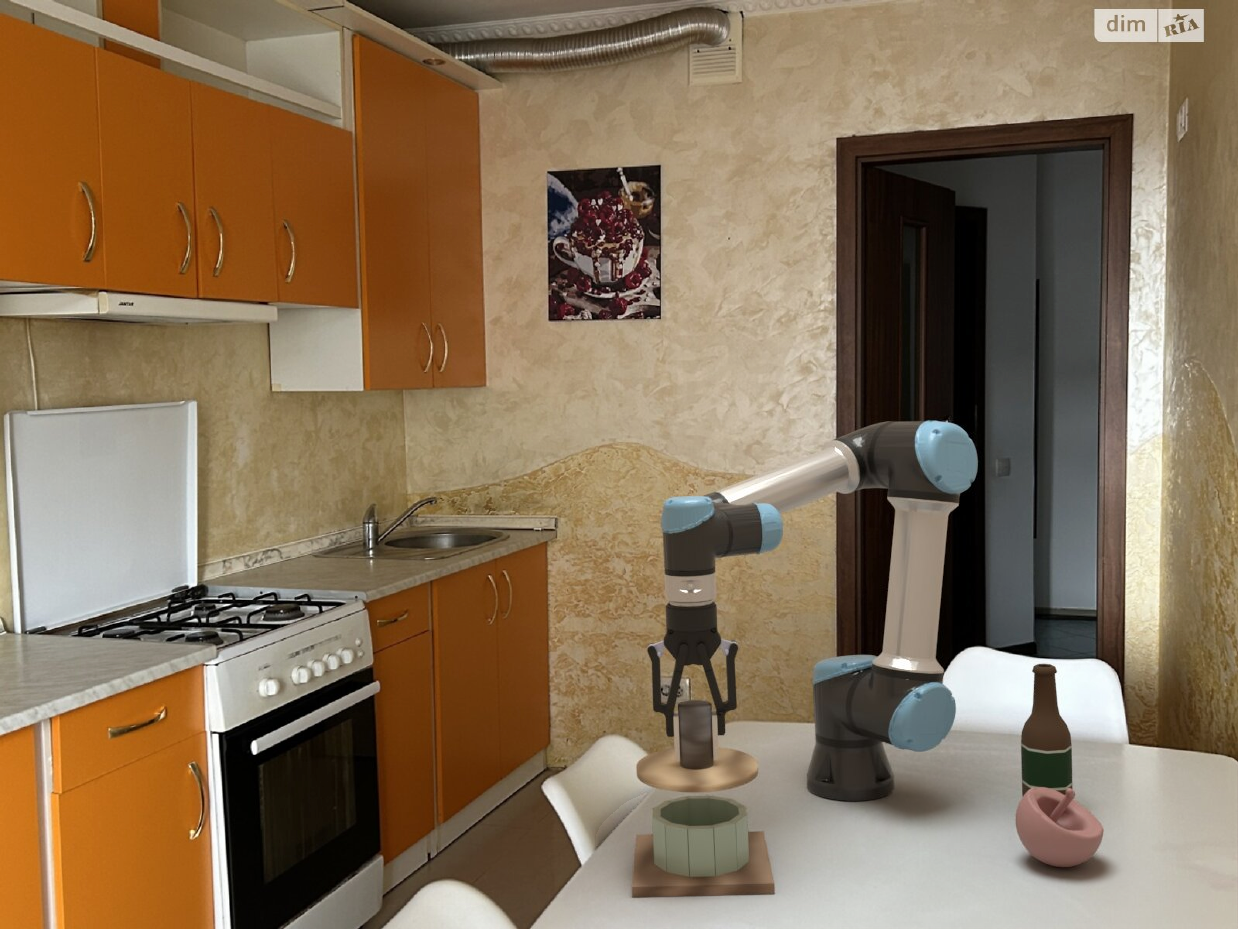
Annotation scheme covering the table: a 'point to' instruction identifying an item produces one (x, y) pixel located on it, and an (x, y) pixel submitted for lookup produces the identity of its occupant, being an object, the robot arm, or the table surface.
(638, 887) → the serving board
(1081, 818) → the mortar and pestle
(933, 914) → the table surface
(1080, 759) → the table surface
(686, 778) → the lid
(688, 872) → the bowl
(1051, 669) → the beer bottle
